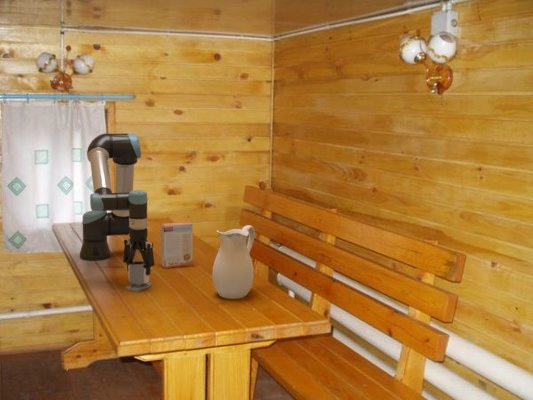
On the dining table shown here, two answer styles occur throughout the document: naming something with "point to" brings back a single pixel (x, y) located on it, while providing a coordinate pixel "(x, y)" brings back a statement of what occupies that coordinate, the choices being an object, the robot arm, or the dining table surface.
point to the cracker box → (177, 244)
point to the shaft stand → (138, 286)
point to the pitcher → (234, 263)
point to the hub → (137, 272)
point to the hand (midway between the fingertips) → (138, 280)
